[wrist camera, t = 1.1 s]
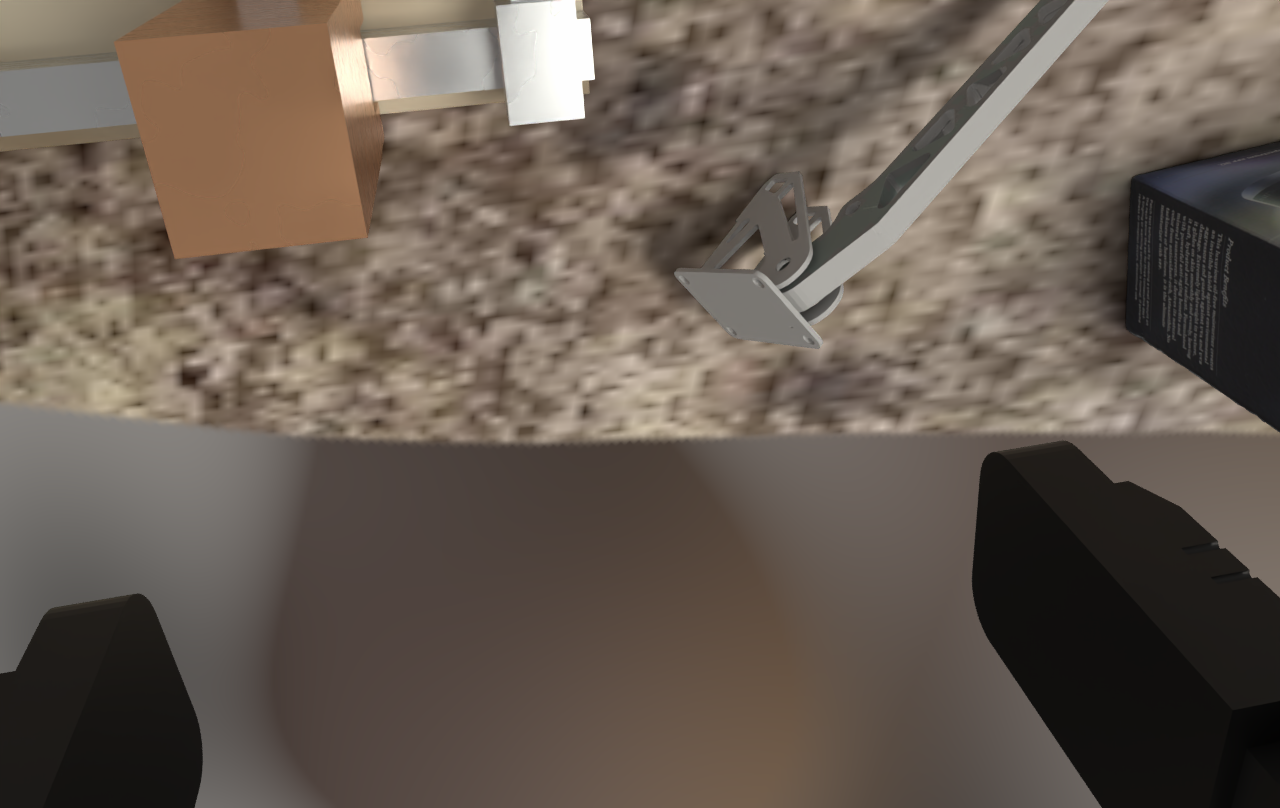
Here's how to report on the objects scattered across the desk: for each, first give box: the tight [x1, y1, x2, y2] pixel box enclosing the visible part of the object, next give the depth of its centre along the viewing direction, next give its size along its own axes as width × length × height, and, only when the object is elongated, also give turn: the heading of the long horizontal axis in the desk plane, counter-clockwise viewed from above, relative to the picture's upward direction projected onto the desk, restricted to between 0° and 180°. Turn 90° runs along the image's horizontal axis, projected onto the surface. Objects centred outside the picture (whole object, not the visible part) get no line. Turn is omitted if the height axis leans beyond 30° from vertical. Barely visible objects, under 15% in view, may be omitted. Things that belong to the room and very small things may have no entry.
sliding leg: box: [114, 0, 384, 259], centre depth 24 cm, size 9×4×9 cm, turn 4°
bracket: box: [674, 0, 1108, 349], centre depth 32 cm, size 3×21×10 cm, turn 131°
